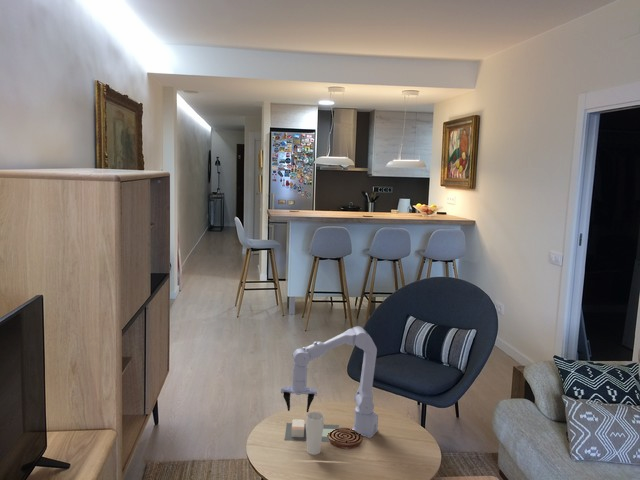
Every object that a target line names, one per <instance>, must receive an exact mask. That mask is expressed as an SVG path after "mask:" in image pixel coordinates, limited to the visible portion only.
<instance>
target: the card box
mask: <svg viewBox="0 0 640 480" xmlns="http://www.w3.org/2000/svg"><path fill="white" fill-rule="evenodd" d="M291 423H292V430H291V437H304V424H305V423H306V419H300V418H298V419H295V418H293V419H292V422H291Z"/></svg>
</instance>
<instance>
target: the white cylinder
mask: <svg viewBox="0 0 640 480" xmlns="http://www.w3.org/2000/svg"><path fill="white" fill-rule="evenodd" d="M324 418H325V417H324V414H323V413H321V412H319V411H310V412H307V414H306V417H305V424H306V440H307V441H306V453H307V454H309V455H311V456H317V455H319V454H320V453H321V450H322V442H321V441H322V434H323V426H324V423H325V422H324V421H325V420H324Z"/></svg>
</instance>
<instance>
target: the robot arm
mask: <svg viewBox="0 0 640 480" xmlns="http://www.w3.org/2000/svg"><path fill="white" fill-rule="evenodd" d="M345 344H346V345H348V346H352V347H354V345H355V347H357V348H359V349H360V350H363V358H362V365H361V372H360V373H361V375H360V381H359V387H357V392H356V394H354V399H353V400H354V402H355V403H356V405H355V408H354V422H353V427H352V428H351V429H352V430H355V431H357V432H358V433H359V434H361V435H360V436H361V437H362V436H363V437H366V438H369V439H371V438H372V437H373V436H374V435H375V434H376V433H377V432H378V431H379V428H378V427H379V414H378V413H376V412H374V410H375V409H374V408H375V404H374V402H373V400H374V397H373V383H374V377H375V376H374V375H375V369H376V368H375V367H376V361H377V354H378V353H377V352H378V349H377V346H376V344H375V342H374V340H373V338H372V337H371V336H370V334H369V333H368V331H366V330H365V328H363V327H362V326H360V325H356V326H354V327H351V328H349V329H346V331H344V332H342V333H340V334H337V335H336V336H334V337H331V338H329V339H328V340H326V341H324V342H322V341H314V342H313V343H312V344H310V345H308V346H303V347H302V348H300V347H299V348H297V349H295V350H294V351H293V354H292V358H293V368H292V384H291V385H292V386H281V387H280V393H281V394H283V399H284V401H285V404H286V408H287V411H288V412H290V411H291V394H295V395H296V396H300V395H307V404H306V405H307V406H306V413H309V410H310V406H311V404H312V402H313V401H314V398H315V396H316V397H317V396H318V389H317V388H310V387H307V384H308V383H307V382H308V365H309V363H310V362H311V361H313V360H315V359H318V358H320V357H323V356H325V355H326V353H327V351H329V350H331V349H335V348H337V347H340V346H342V345H345ZM359 434H358V435H359Z"/></svg>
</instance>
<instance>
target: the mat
mask: <svg viewBox="0 0 640 480" xmlns="http://www.w3.org/2000/svg"><path fill="white" fill-rule="evenodd" d="M335 429H339V430H340V426H339V424H324V426H323V434H322V441H321V443H331V442H330V441H329V439H328V437H327V435H328V433H330V432H332V431H333V430H335ZM291 430H292V422H286V427H285V435H284V441H292V442H295V441H296V442H307V440H306V423H304V437H291Z"/></svg>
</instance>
